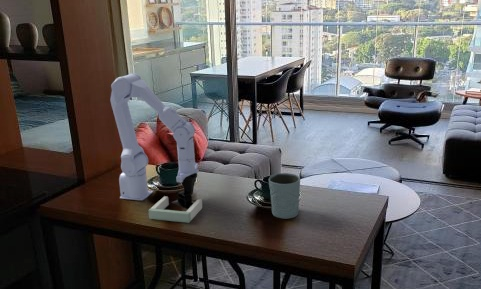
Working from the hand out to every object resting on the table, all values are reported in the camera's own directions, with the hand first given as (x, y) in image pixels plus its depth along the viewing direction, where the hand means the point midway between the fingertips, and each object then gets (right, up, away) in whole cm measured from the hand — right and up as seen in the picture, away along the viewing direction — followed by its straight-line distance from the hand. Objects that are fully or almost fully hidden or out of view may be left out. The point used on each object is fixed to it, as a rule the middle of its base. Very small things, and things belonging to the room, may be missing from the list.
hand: (189, 194), depth 165 cm
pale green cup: (+33, -5, -13) cm, 35 cm away
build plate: (-1, -4, -2) cm, 4 cm away
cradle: (-3, -5, -9) cm, 11 cm away
